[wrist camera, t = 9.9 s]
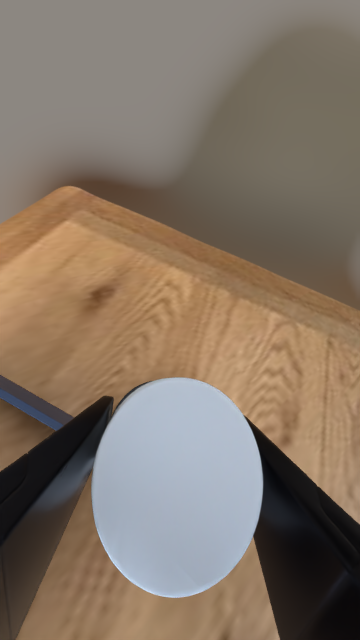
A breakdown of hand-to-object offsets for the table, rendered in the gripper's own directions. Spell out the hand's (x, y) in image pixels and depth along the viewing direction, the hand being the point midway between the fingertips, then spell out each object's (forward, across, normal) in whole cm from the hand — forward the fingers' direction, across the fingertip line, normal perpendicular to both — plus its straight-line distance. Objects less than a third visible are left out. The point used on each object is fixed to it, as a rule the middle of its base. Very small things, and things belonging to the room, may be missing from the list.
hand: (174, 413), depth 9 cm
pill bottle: (+4, 0, +6) cm, 7 cm away
